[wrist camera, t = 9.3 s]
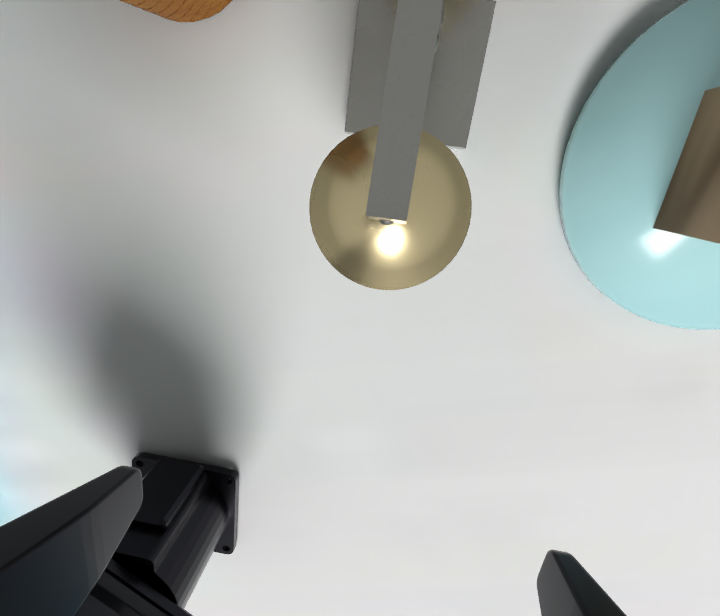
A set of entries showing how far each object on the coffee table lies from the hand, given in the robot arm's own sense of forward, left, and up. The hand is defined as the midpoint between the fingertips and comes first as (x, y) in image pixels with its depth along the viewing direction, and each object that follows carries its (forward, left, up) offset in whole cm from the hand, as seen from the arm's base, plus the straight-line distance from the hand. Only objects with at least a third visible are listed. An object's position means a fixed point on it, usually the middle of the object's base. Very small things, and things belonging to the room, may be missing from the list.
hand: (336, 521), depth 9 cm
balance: (+11, 0, -12) cm, 16 cm away
